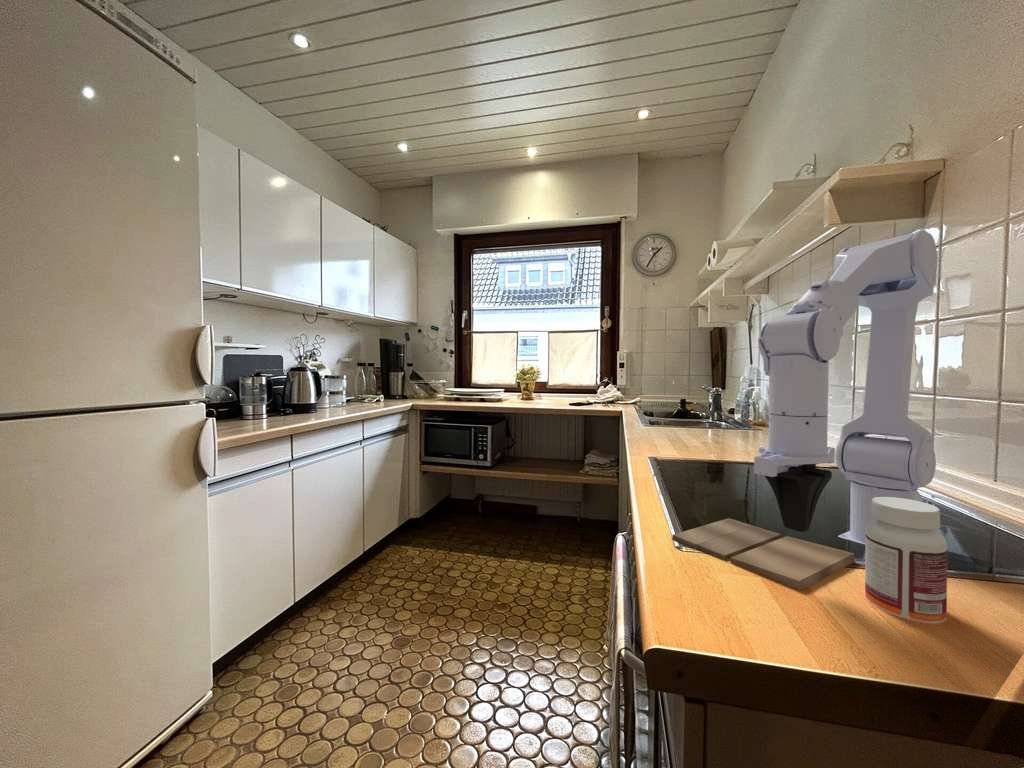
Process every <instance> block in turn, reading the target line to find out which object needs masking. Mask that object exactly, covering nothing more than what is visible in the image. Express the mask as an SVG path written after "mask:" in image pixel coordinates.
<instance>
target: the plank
mask: <svg viewBox="0 0 1024 768" xmlns="http://www.w3.org/2000/svg"><path fill="white" fill-rule="evenodd" d="M729 559H730V562H729V563H730V564H733V565H734V566H737V567H740V568H742V569H745V570H747V571H750V572H753V573H755V574H757V575H759V576H762V577H765V578H767V579H769V580H772V581H775V582H777V583H780V584H781V585H784V586H787V587H790V588H792V589H794V590H796V591H799V592H801V591H803V590H805V589H806V588H808V587H810V586H812V585H814V584H815V583H818V582H819V581H821V580H823V579H825V578H827V577H829V576H830V575H833V574H835V573H836V572H838V571H840V570H842V569H844V568H846V567H848V566H849V565H852V564H854V563H855V553H854V552H851V551H848V550H843V549H838V548H835V547H830V546H827V545H824V544H818V543H815V542H811V541H807V540H803V539H799V538H797V537H793V536H789V535H786V536H783V537H781V538H780V539H778V540H775V541H773V542H770V543H767V544H765V545H762V546H759V547H757V548H754V549H752V550H749V551H746V552H744V553H741V554H739V555H736V556H733V557H731V558H729Z"/></svg>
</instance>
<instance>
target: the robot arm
mask: <svg viewBox="0 0 1024 768" xmlns="http://www.w3.org/2000/svg"><path fill="white" fill-rule="evenodd" d="M938 257H939V256H938V250H937V244H936V241H935V238H934V236H933V235H932V234H931V233H930V232H928V231H926V230H925V229H920V230H917V231H915V232H912V233H908V234H904V235H900V236H896V237H895V236H894V237H892V238H887V239H882V240H877V241H874V242H869V243H865V244H861V245H857V246H853V247H850V246H849V247H844V248H842V249H841V250H840V251H839V252H838V253H837V254H836V255H835V261H834V269H833V270H834V273H833V274H832V276H831V277H830V278H829V279H823V280H818V281H813V282H812V284H810V285H809V289H808V290H807V291H806V292H805V293H804V295H802V296H801V298H799V299H798V300H797V302H795V303H794V304H793V306H792V307H791V308H790V309H789V310H788V311H787V312H786V313H785V314H784V315H778V316H773V317H772V318H770V319H769V321H766V322H765V323H764V324H763V325H762V328H761V330H760V334H759V337H758V338H757V343H758V349H759V353H760V355H761V358H762V360H763V371H764V375H765V376H767V377H768V379H769V380H768V446H759V447H758V453H760V454H759V455H755V456H754V458H753V459H754V460H753V461H754V462H753V463H754V467H753V472H754V474H755V475H762V476H764V477H765V479H766V480H767V482H768V483H769V485H770V487H771V490H772V491H773V493H774V497H775V499H776V501H777V502H776V503H777V506H778V508H779V509H778V510H779V512H780V517H781V520H782V524H783V527H784V528H786V529H789V530H792V531H796V532H799V533H804V532H808V531H809V529H810V528H811V524H812V520H813V518H814V514H815V511H816V507H817V505H818V502H819V498H820V497H821V495H822V492H823V491H824V489H825V487H826V486H827V485H828V483H829V482H830V480H832V476H833V475H832V473H833V472H832V471H831V470H828V469H822V468H816V466H817V465H820V464H821V465H822V464H834V463H836V466H837V468H838V469H839V471H840V472H841V473H842V474H843V475H845V480H849V481H850V487H849V488H850V489H849V490H850V494H849V495H850V501H849V503H850V504H849V507H850V508H849V510H850V511H849V513H850V514H849V530H848V531H846V532H843V533H842V534H839V535H837V537H839V538H841V539H844V540H847V541H850V542H851V541H852V542H854V543H858V544H861V545H865V546H866V534H865V532H866V527H867V525H868V524H869V523H870V522H872V521H875V520H878V519H876V518H874V517H873V516H872V515H871V506H872V499H873V498H875V497H895V498H903V499H910V500H915V501H920V502H923V501H924V500H923V497H922V496H921V494H920V492H919V491H918V489H920V488H925V487H926V486H927V485H929V484H931V483H932V481H933V479H934V477H935V472H936V468H937V467H936V466H937V461H936V460H937V459H936V457H937V456H936V453H935V450H934V449H935V446H934V437H933V435H932V433H931V432H930V431H929V430H928V429H927V428H926V427H923V426H922V425H921V424H918V423H917V422H916V421H914V420H913V419H911V417H910V418H909V417H908V413H909V402H910V401H909V399H910V391H911V390H910V389H911V388H910V387H911V378H912V377H911V376H912V366H913V354H914V353H913V351H914V340H915V327H916V318H917V312H918V307H919V302H921V301H923V300H924V299H926V298H928V297H930V296H932V295H933V294H934V288H935V286H936V283H937V270H938V260H939V259H938ZM859 307H864V308H868V309H869V310H870V312H871V317H870V327H869V329H870V330H869V339H868V349H867V351H868V352H867V361H866V362H867V363H866V372H865V373H866V375H865V386H864V395H863V408H862V409H863V410H862V414H860V415H859V416H857V417H855V418H853V419H852V420H850V421H848V422H847V423H845V424H843V425H842V428H841V430H840V435H839V438H838V442H837V443H836V446H835V447H832V446H828V418H829V417H828V413H829V412H828V410H829V409H828V408H829V401H828V400H829V361H830V360H831V361H832V360H833V359H834V357H836V356H837V354H838V352H839V348H840V345H841V338H842V336H843V335H844V326H845V325H846V324H847V323H848V322H849V320H850V319H851V318H852V316H853V315H854V314H856V312H857V310H858V308H859ZM868 435H877V436H887V437H898V438H906V439H908V440H903V439H896V438H895V439H893V438H883V437H875V436H868Z"/></svg>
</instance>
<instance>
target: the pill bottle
mask: <svg viewBox="0 0 1024 768" xmlns="http://www.w3.org/2000/svg"><path fill="white" fill-rule="evenodd" d="M871 515H872V516H873V517H874V518H876V519H878V520H875V521H872V522H870V523H869V524H868V525H867V527H866V532H865V534H866V545H865V551H864V552H865V554H864V555H865V559H864V560H865V562H864V564H865V565H864V566H865V567H864V570H865V571H864V573H865V574H864V591H865V592H864V594H865V598H866V600H867V601H868V602H869V603H870V604H871V605H872V606H873V607H876V608H878V609H879V610H881V611H883V612H886V613H888V614H890V615H893V616H895V617H899V618H902V619H905V620H909V621H913V622H918V623H922V624H923V623H924V624H942V623H945V622H946V621H947V618H948V617H947V615H948V614H947V613H948V611H947V610H948V609H947V608H948V607H947V605H948V590H947V589H948V549H949V548H948V543H947V539H945V537H944V535H942V534H941V533H939V532H938V531H936V530H938V529H939V528H941V510H940V508H938V507H937V506H935V505H934V504H930V503H927V502H920V501H915V500H910V499H903V498H895V497H875V498H873V499H872V506H871Z"/></svg>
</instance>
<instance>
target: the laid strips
mask: <svg viewBox="0 0 1024 768" xmlns="http://www.w3.org/2000/svg"><path fill="white" fill-rule="evenodd" d="M671 536H672V537H671V539H672V540H673V541H676V542H678V543H681V544H683V545H685V546H689V547H690V548H693V549H696V550H697V551H700V552H703V553H705V554H707V555H710V556H713V557H715V558H718V559H720V560H722V561H726V560H729V559H730V558H731V557H733V556H736V555H739V554H741V553H744V552H746V551H749V550H752V549H754V548H757V547H759V546H762V545H765V544H767V543H770V542H773V541H775V540H778V539H780V538H782V534H781V533H779V532H776V531H771V530H768V529H766V528H762V527H759V526H755V525H751V524H749V523H746V522H744V521H743V522H742V521H739V520H737V519H734V518H733V519H732V518H729V517H728V518H725V519H721V520H718V521H715V522H711V523H708V524H705V525H701V526H698V527H694V528H691V529H687V530H684V531H680V532H677V533H674V534H672V535H671Z"/></svg>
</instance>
